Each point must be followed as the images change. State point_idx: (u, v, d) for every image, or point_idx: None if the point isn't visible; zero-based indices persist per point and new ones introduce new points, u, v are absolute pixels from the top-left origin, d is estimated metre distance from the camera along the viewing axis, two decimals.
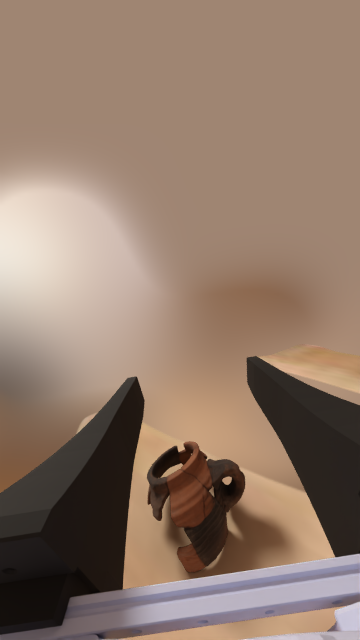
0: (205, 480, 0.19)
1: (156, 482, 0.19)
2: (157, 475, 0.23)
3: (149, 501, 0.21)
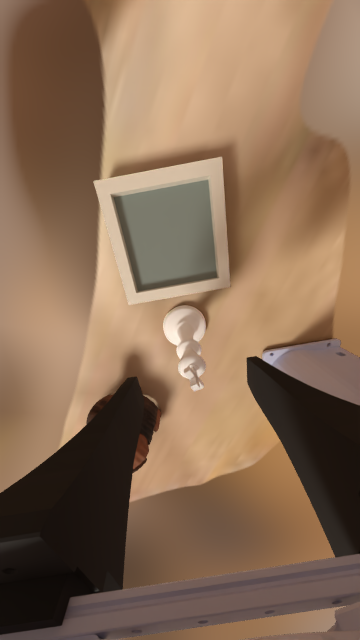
0: None
1: None
2: None
3: None
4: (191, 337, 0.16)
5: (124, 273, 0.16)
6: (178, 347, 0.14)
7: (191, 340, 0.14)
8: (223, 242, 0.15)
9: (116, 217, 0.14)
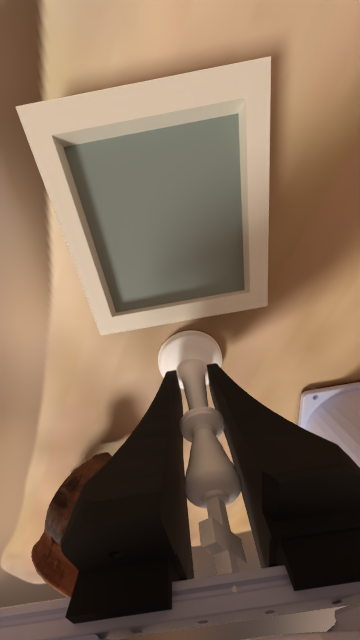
0: None
1: None
2: None
3: None
4: (204, 392, 0.10)
5: (90, 285, 0.09)
6: (183, 422, 0.08)
7: (207, 410, 0.08)
8: (261, 231, 0.09)
9: (68, 183, 0.08)
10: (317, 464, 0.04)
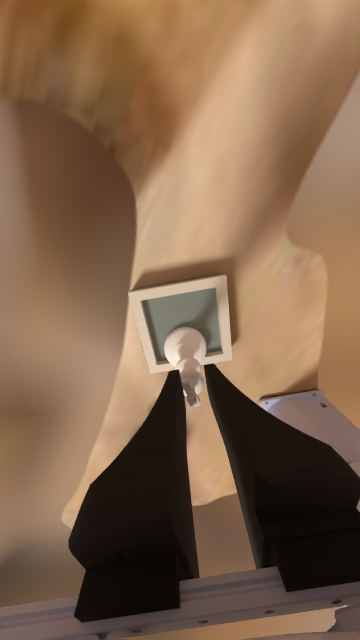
0: None
1: None
2: None
3: None
4: (191, 357, 0.16)
5: (148, 352, 0.20)
6: (177, 364, 0.14)
7: (191, 358, 0.14)
8: (227, 330, 0.19)
9: (143, 314, 0.18)
10: (309, 465, 0.04)
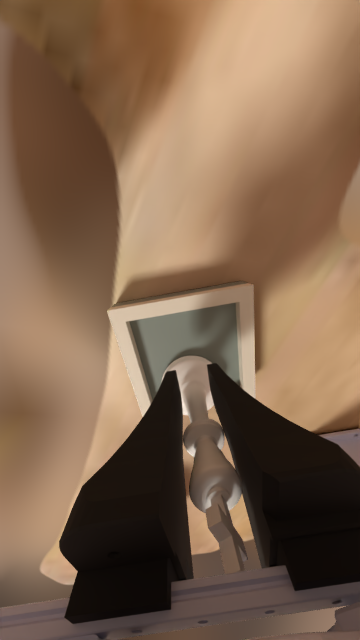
0: None
1: None
2: None
3: None
4: (205, 410, 0.10)
5: (139, 390, 0.14)
6: (187, 433, 0.09)
7: (210, 422, 0.09)
8: (250, 360, 0.13)
9: (131, 341, 0.13)
10: (318, 464, 0.04)
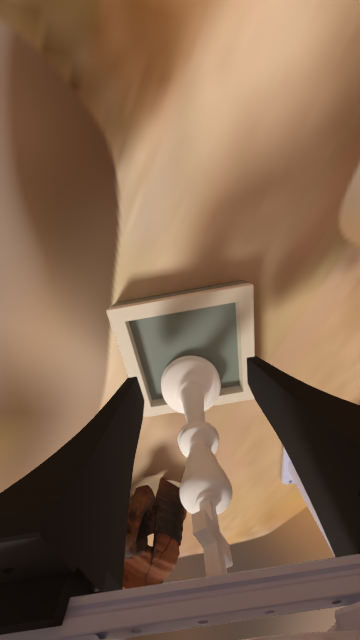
0: (145, 562, 0.17)
1: None
2: None
3: None
4: (202, 411, 0.10)
5: None
6: (181, 435, 0.09)
7: (204, 424, 0.09)
8: None
9: (131, 341, 0.13)
10: None
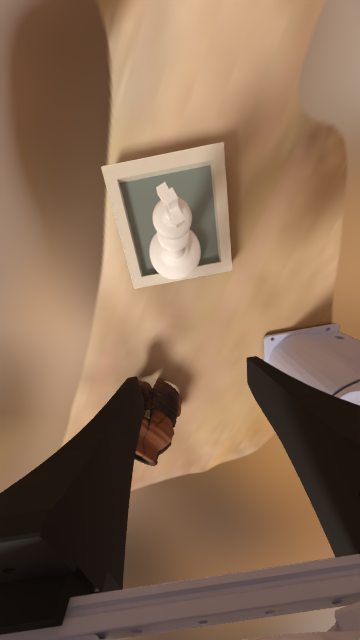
0: (143, 427, 0.19)
1: (154, 465, 0.20)
2: None
3: None
4: None
5: (130, 257, 0.16)
6: None
7: None
8: (225, 226, 0.16)
9: (122, 202, 0.15)
10: None
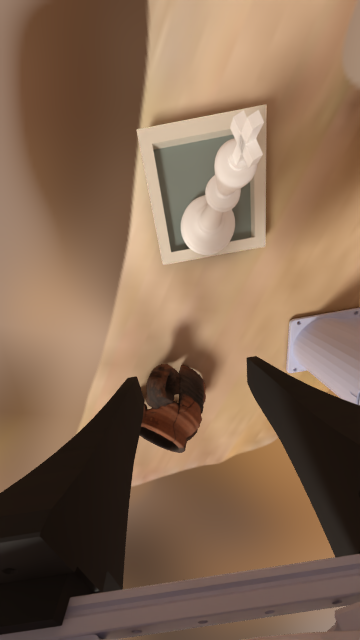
0: (173, 411, 0.18)
1: (182, 451, 0.20)
2: None
3: None
4: None
5: (160, 230, 0.15)
6: (209, 182, 0.10)
7: None
8: (261, 198, 0.15)
9: (156, 169, 0.14)
10: None
